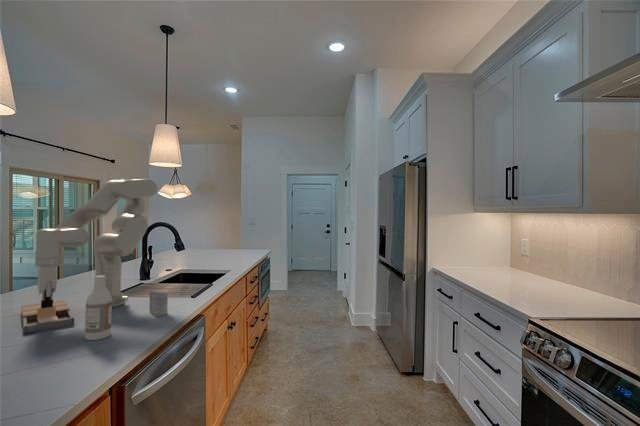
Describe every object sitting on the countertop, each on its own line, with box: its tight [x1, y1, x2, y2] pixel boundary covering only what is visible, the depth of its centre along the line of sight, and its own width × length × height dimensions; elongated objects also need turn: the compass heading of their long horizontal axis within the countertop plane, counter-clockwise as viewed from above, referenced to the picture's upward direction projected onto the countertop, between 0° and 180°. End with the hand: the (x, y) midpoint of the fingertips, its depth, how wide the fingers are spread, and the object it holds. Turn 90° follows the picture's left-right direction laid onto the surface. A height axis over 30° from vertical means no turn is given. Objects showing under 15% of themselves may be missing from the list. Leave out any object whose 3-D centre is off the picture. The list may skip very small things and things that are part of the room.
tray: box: [22, 310, 75, 335], centre depth 109 cm, size 12×13×2 cm
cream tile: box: [38, 316, 58, 324], centre depth 107 cm, size 5×5×2 cm
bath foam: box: [84, 275, 113, 341], centre depth 100 cm, size 7×7×20 cm
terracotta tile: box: [37, 306, 56, 324], centre depth 111 cm, size 5×5×2 cm
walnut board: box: [21, 299, 71, 324], centre depth 119 cm, size 16×13×3 cm
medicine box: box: [148, 289, 169, 317], centre depth 125 cm, size 8×4×9 cm, turn 47°
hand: (46, 310), depth 113 cm, fingers closed
